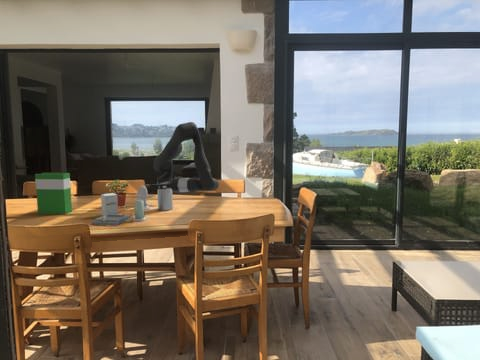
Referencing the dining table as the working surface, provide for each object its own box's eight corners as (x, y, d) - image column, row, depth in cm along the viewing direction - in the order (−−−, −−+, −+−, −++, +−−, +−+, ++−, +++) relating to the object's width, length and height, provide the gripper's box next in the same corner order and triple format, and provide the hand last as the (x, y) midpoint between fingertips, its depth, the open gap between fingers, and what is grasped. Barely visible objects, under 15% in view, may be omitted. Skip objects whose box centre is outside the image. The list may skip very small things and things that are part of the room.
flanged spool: (136, 218, 229) (135, 199, 227) (149, 218, 227) (148, 199, 226) (129, 221, 221) (129, 201, 219) (143, 221, 219) (142, 202, 218)
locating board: (108, 217, 231) (108, 209, 230) (131, 218, 228) (131, 210, 227) (91, 224, 213) (91, 216, 213) (115, 225, 211) (115, 217, 210)
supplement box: (105, 217, 231) (104, 195, 229) (101, 215, 237) (100, 194, 235) (118, 215, 235) (117, 194, 233) (114, 213, 241) (113, 192, 239)
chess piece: (138, 207, 259) (138, 184, 257) (152, 207, 257) (151, 184, 255) (130, 210, 250) (129, 186, 248) (145, 211, 247) (144, 187, 245)
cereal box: (37, 213, 241) (35, 174, 238) (45, 211, 248) (42, 172, 245) (65, 214, 239) (63, 174, 236) (72, 211, 247) (69, 173, 243)
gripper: (186, 176, 221) (159, 177, 226) (175, 179, 208) (147, 180, 212) (187, 190, 222) (160, 190, 226) (176, 193, 208) (148, 194, 213)
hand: (154, 185), depth 219 cm, fingers open, 8 cm apart
